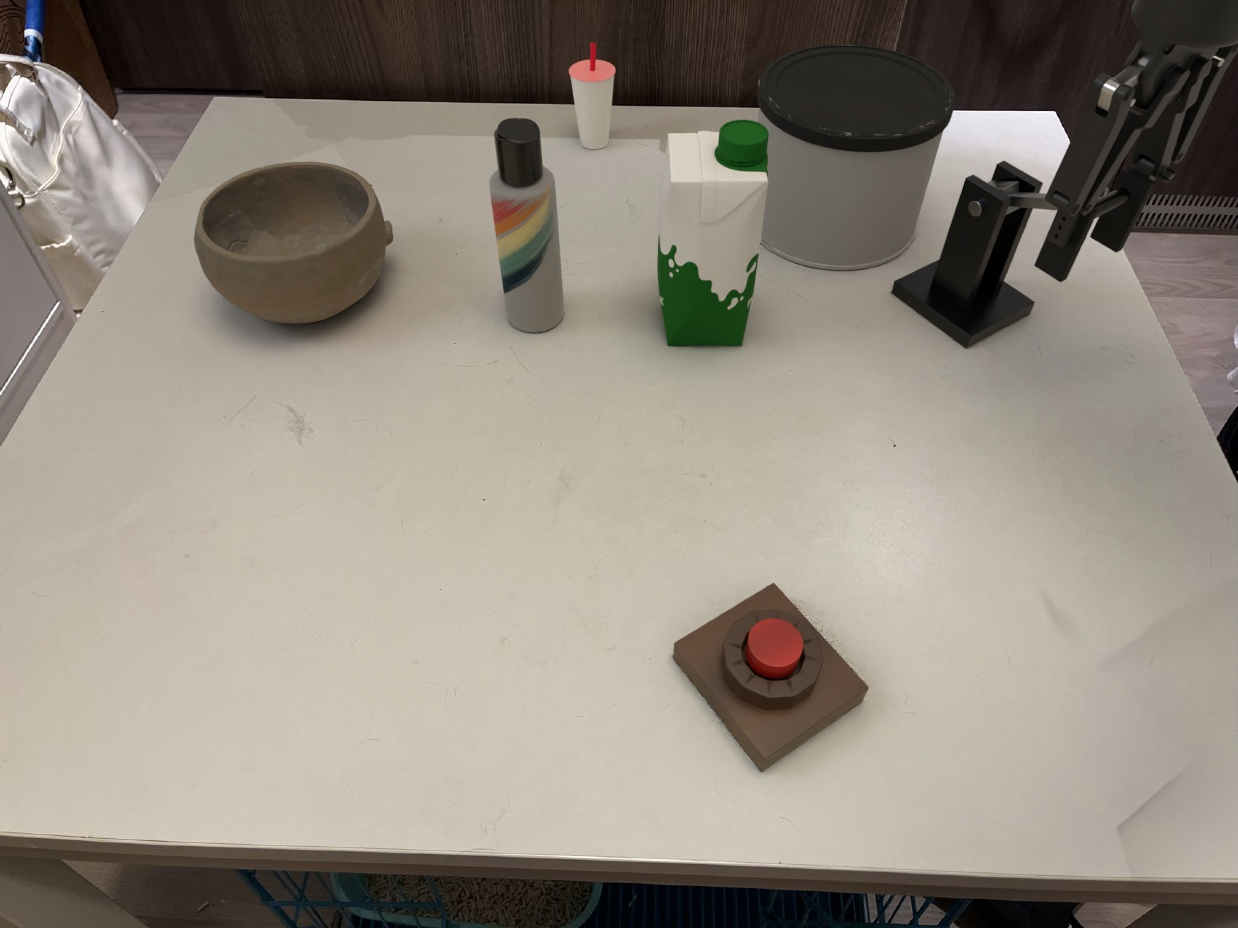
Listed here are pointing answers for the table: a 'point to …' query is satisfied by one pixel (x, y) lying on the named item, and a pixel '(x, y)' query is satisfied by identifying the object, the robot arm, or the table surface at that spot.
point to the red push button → (774, 648)
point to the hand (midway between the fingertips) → (1078, 257)
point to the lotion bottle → (526, 228)
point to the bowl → (292, 240)
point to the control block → (768, 679)
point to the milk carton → (711, 232)
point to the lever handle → (1039, 202)
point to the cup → (593, 99)
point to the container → (848, 152)
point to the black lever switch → (974, 263)
